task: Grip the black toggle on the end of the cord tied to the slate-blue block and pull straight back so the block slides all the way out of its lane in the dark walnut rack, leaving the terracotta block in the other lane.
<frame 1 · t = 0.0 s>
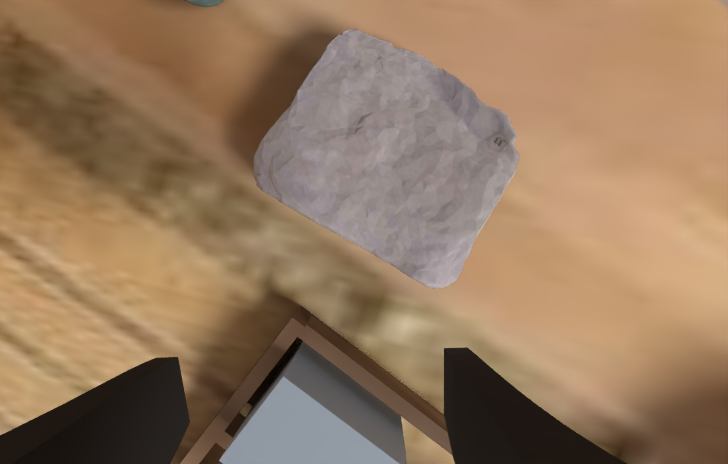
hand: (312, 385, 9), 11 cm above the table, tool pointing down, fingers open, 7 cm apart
stone block: (391, 160, 20), on the table
slate block: (326, 409, 20), resting in lane rack
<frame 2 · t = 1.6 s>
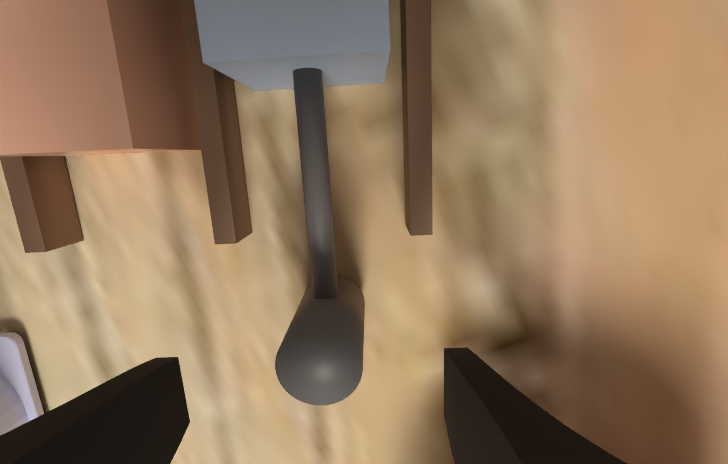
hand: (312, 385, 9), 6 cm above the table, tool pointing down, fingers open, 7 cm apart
lane rack: (219, 54, 13), on the table
terracotta block: (129, 60, 14), resting in lane rack
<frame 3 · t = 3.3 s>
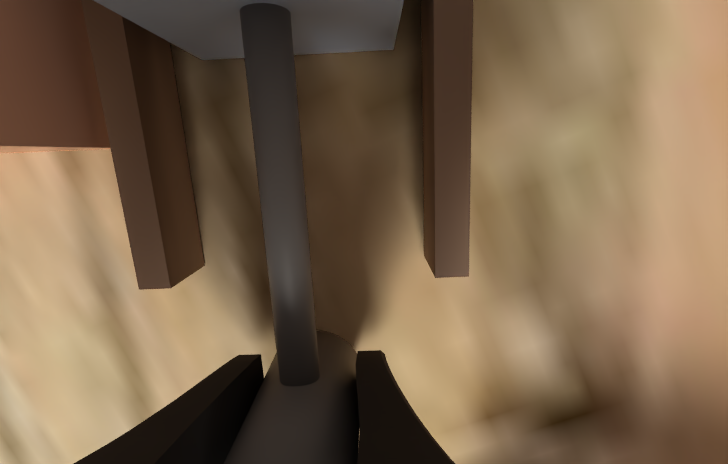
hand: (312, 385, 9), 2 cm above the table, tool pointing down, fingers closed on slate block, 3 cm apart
lane rack: (148, 3, 9), on the table
terracotta block: (16, 15, 9), resting in lane rack
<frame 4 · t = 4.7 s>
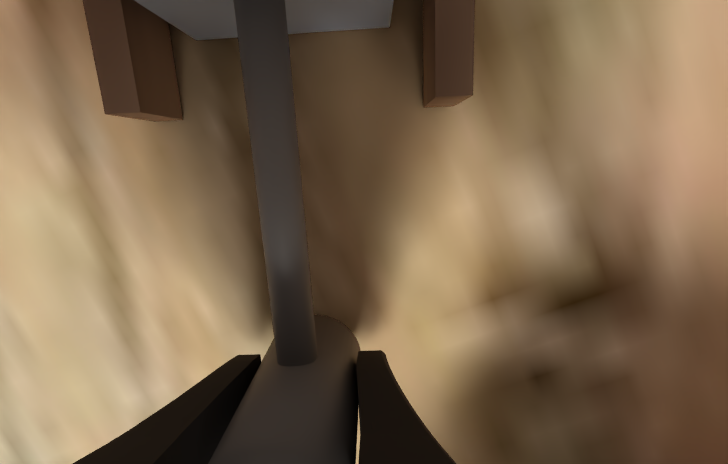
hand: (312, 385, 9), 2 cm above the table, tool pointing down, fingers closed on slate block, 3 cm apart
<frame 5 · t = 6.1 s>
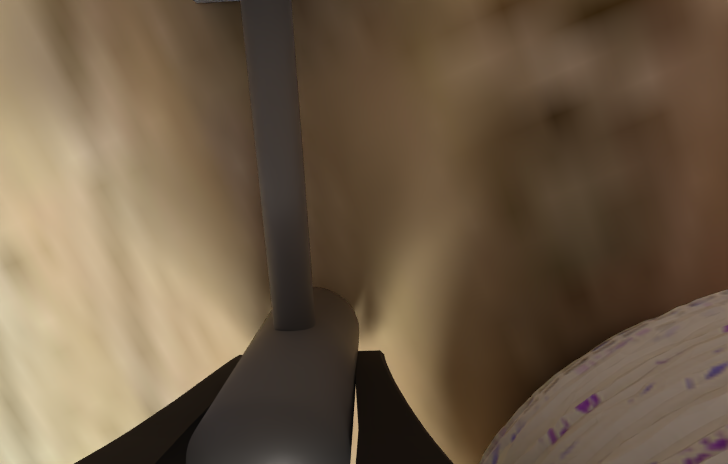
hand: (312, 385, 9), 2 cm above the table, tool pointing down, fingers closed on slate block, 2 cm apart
paper bowls: (655, 452, 12), on the table, touching gripper
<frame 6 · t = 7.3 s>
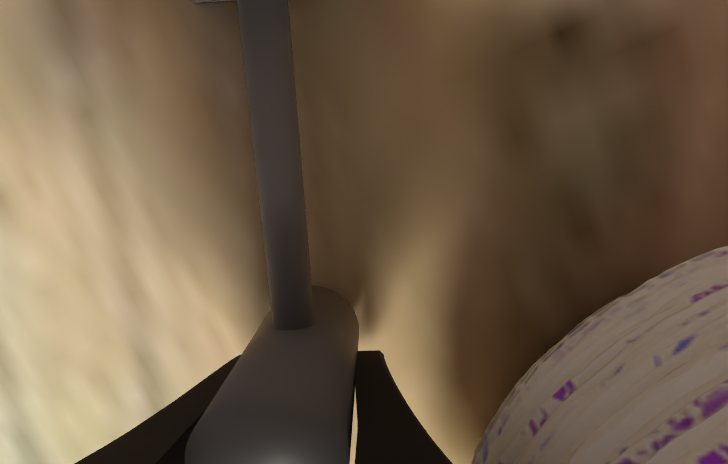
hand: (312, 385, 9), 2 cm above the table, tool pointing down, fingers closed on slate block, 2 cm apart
paper bowls: (667, 423, 11), on the table, touching gripper
when the fingers open (2 cm above the table, at t = 8.1 s): slate block stays where it is, on the table.
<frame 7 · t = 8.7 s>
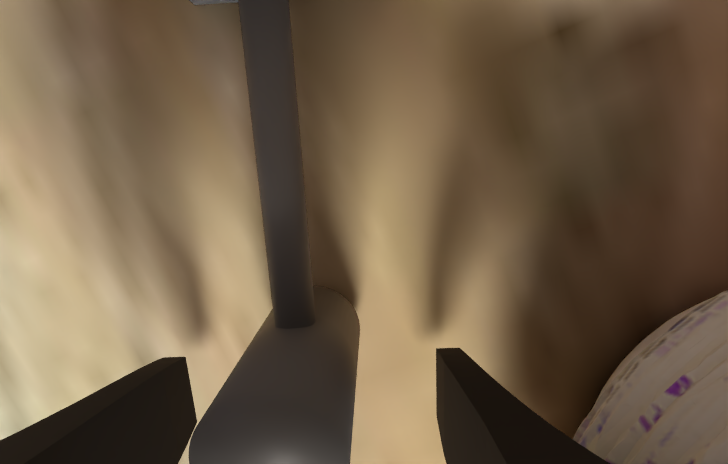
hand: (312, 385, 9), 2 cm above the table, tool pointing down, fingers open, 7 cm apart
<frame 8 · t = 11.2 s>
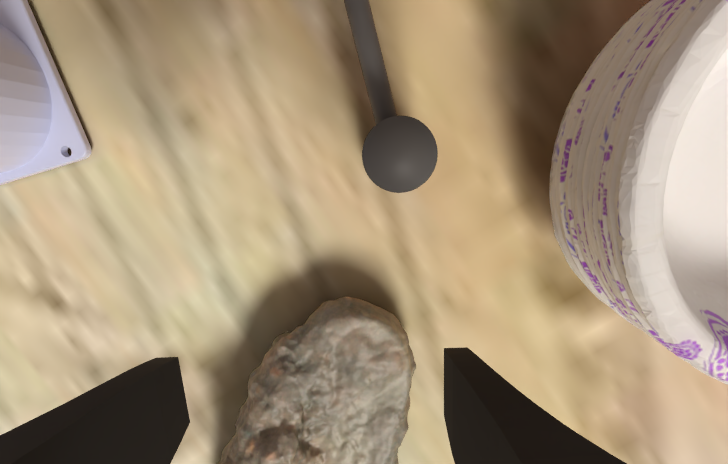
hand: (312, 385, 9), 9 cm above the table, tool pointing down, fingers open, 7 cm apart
paper bowls: (673, 163, 17), on the table
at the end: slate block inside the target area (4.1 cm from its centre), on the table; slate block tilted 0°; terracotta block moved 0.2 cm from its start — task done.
